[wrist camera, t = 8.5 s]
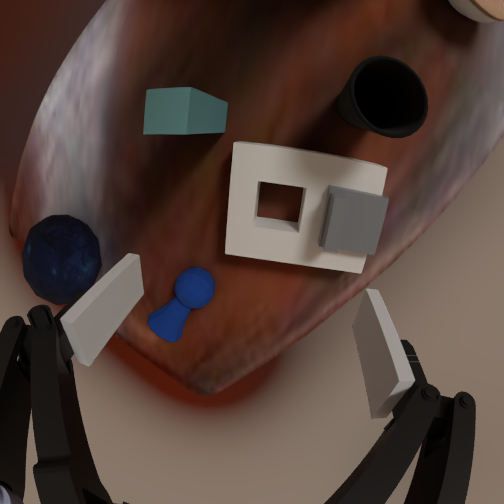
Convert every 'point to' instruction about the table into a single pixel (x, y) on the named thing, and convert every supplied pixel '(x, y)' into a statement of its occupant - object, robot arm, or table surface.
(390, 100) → the cup
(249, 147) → the socket box
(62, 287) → the decorative orb
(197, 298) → the toy
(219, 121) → the plug
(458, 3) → the lidded jar
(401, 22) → the table surface
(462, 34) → the table surface
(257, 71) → the table surface
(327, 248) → the plate
